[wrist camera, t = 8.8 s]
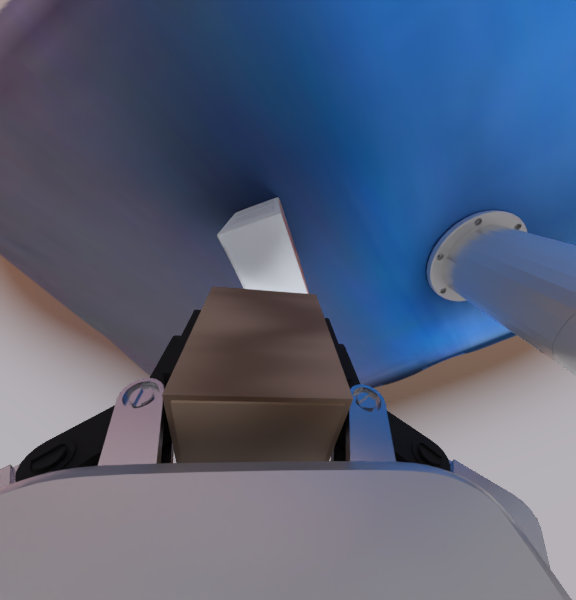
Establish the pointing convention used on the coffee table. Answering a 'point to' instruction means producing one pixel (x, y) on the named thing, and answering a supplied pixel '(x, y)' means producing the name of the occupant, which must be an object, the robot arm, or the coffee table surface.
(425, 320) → the coffee table surface
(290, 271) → the small box
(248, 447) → the walnut block
